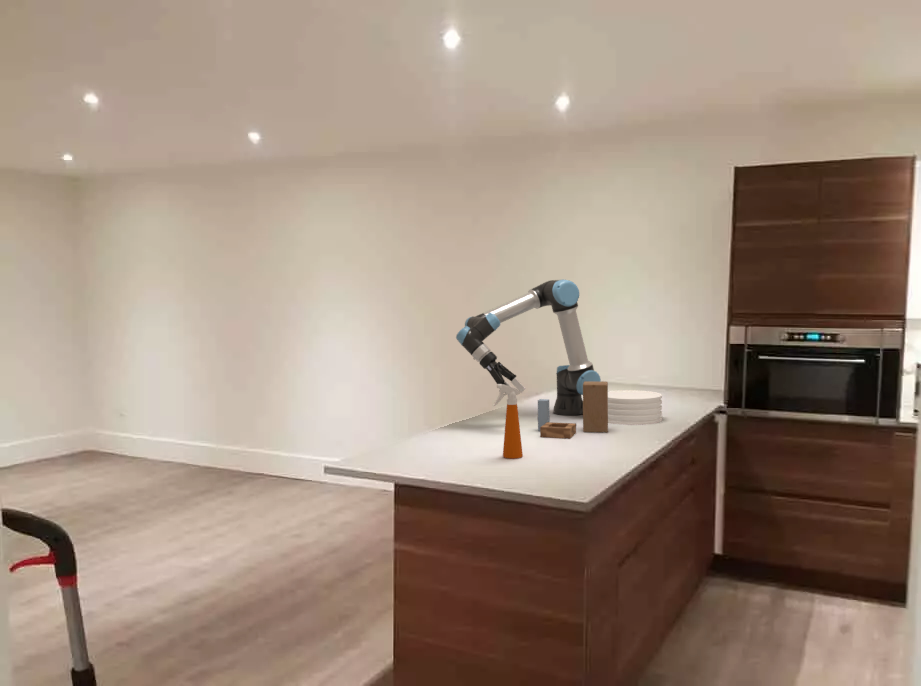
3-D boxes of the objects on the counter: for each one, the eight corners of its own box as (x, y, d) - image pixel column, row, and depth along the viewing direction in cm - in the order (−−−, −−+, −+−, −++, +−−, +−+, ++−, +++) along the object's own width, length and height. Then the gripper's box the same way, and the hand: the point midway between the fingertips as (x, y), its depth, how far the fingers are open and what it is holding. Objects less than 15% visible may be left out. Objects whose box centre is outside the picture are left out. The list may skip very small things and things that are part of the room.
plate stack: (675, 421, 330) (675, 396, 329) (620, 427, 320) (620, 400, 319) (637, 412, 356) (637, 388, 355) (586, 417, 346) (586, 392, 345)
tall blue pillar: (540, 429, 317) (540, 399, 316) (549, 429, 316) (549, 399, 315) (538, 431, 313) (537, 400, 312) (547, 431, 312) (547, 400, 311)
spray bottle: (490, 456, 267) (488, 383, 266) (517, 453, 271) (516, 381, 269) (498, 460, 261) (496, 385, 259) (526, 457, 265) (525, 383, 263)
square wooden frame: (547, 431, 312) (547, 422, 312) (576, 433, 308) (576, 423, 307) (540, 437, 301) (540, 427, 300) (569, 438, 297) (569, 428, 296)
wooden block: (607, 432, 307) (607, 384, 306) (583, 432, 309) (582, 384, 308) (608, 428, 317) (607, 381, 316) (584, 427, 319) (583, 381, 318)
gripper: (488, 360, 334) (521, 394, 330) (469, 365, 311) (504, 403, 307) (499, 348, 332) (532, 383, 328) (481, 353, 308) (516, 390, 304)
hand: (519, 392), depth 317 cm, fingers open, 13 cm apart
